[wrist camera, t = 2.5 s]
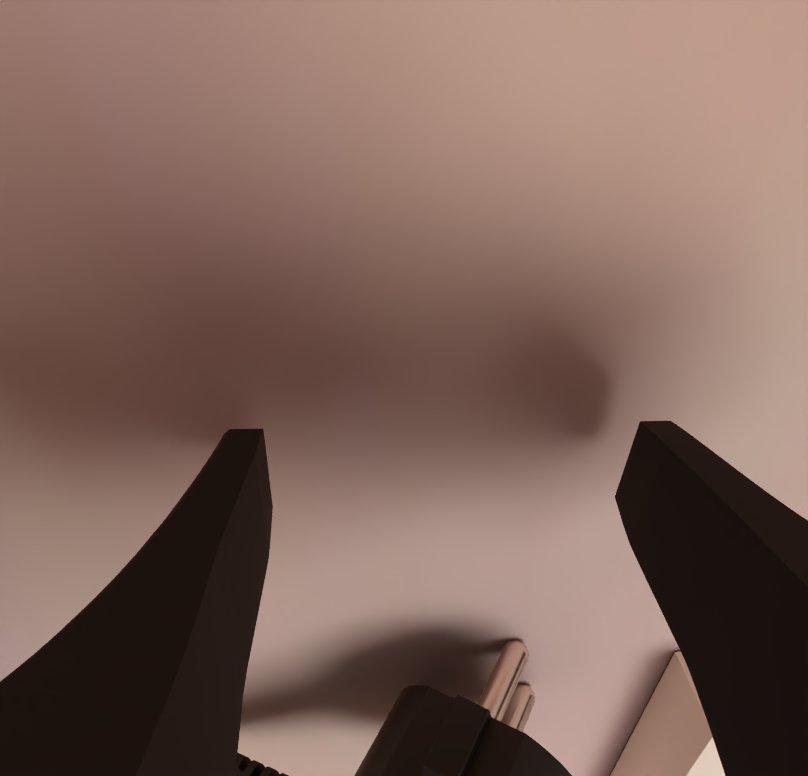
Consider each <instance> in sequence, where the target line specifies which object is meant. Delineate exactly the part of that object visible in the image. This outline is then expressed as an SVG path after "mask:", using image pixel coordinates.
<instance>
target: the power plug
mask: <svg viewBox="0 0 808 776" xmlns="http://www.w3.org/2000/svg"><path fill="white" fill-rule="evenodd" d="M528 657H529V653H528V649H527V647H526V646H525V645H524V644H523V643H522V642H520V641H515V640H512V641H510V642H507V643H506V644H505V646H504V647H503V649H502V652H501V654H500V656H499V658H498V660H497V662H496V664H495V666H494V669H493V671H492V673H491V675H490V677H489V679H488V681H487V683H486V686H485V688H484V690H483V692H482V694H481V696H480V698H479V700H478V703H477V704H476V703H474V702H472V701H470V700H467V699H465V698H463V697H461V696H459V695H457V697H456V699H453V698H451V697H449V696H447V695H445V694H443V693H441V692H439V691H437V690H435V689H433V688H431V687H428V686H417V685H416V686H409V687H406V688H405V689H403V690H402V692H401V694H400V696H399V697H398V699H397V701H396V703H395V704H394V706H393V708H392V710H391V712H390V713H389V715H388V717H387V719H386V721H385V722H384V724H383V726H382V728H381V729H380V731H379V733H378V735H377V737H376V738H375V740H374V742H373V744H372V745H371V747H370V749H369V751H368V753H367V754H366V756H365V758H364V760H363V761H362V763H361V765H360V767H359V769H358V770H357V772H356V774H355V776H572V775H571V774H570V773H569V772H568V771H567V770H566V768H565V767H564V766H563V765H562V764H561V763H560V762H559V761H558V760H557V759H556V758H555V757H553V756H552V755H551V754H550V753H549V752H548V751H547V750H546V749H544V748H543V747H542V746H541V745H540V744H538V743H537V742H536V741H535V740H533V739H532V738H531V737H529V736H528V735H527V734H525V733H523V730H524V727H525V725H526V722H527V720H528V717H529V715H530V713H531V710H532V708H533V705H534V702H535V694H534V692H533V690H532V689H531V688H530V687H529V686H527V685H525V684H519V685H517V684H518V682H519V679H520V677H521V675H522V673H523V670H524V668H525V666H526V663H527V661H528ZM235 776H288V775H286V774H284V773H282V774H279V773H278V771H277V770H275V769H273V768H270V767H266V768H265V767H264V765H263V764H261V763H259V762H257V761H255V760H253V761H251V760H250V759H249V758H248V757H246V756H244V755H242V754H239V753H237V762H236V773H235Z"/></svg>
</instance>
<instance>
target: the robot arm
mask: <svg viewBox="0 0 808 776" xmlns="http://www.w3.org/2000/svg"><path fill="white" fill-rule="evenodd" d="M615 498H616V502H617V505H618V509H619V512H620V515H621V519H622V522H623V525H624V528H625V531H626V534H627V537H628V540H629V543H630V545H631V547H632V550H633V552H634V554H635V556H636V558H637V560H638V563H639V565H640V567H641V569H642V571H643V573H644V575H645V578H646V580H647V582H648V584H649V586H650V588H651V590H652V592H653V594H654V596H655V598H656V600H657V603H658V605H659V607H660V609H661V611H662V613H663V615H664V617H665V619H666V621H667V623H668V625H669V627H670V630H671V632H672V634H673V636H674V638H675V640H676V642H677V644H678V646H679V648H680V651H681V653H682V655H683V658H684V660H685V662H686V665H687V667H688V669H689V672H690V675H691V677H692V680H693V683H694V686H695V688H696V691H697V694H698V697H699V699H700V702H701V705H702V708H703V711H704V713H705V716H706V719H707V722H708V725H709V728H710V731H711V734H712V737H713V740H714V743H715V746H716V749H717V752H718V755H719V758H720V761H721V764H722V767H723V770H724V773H725V776H808V521H807V520H806V519H804V518H803V517H801V516H800V515H798V514H797V513H796V512H794V511H793V510H791V509H790V508H788V507H787V506H785V505H784V504H783V503H781V502H780V501H778V500H777V499H776V498H774V497H773V496H771V495H770V494H769V493H767V492H766V491H765V490H763V489H762V488H760V487H759V486H758V485H756V484H755V483H754V482H752V481H751V480H750V479H748V478H747V477H746V476H744V475H743V474H742V473H740V472H739V471H738V470H736V469H735V468H734V467H732V466H731V465H730V464H728V463H727V462H726V461H724V460H723V459H722V458H720V457H719V456H718V455H717V454H715V453H714V452H713V451H711V450H710V449H709V448H707V447H706V446H705V445H703V444H702V443H701V442H699V441H698V440H697V439H695V438H694V437H693V436H691V435H690V434H689V433H687V432H686V431H684V430H683V429H682V428H680V427H679V426H677V425H676V424H674V423H673V422H671V421H640V423H639V426H638V429H637V432H636V435H635V438H634V441H633V444H632V447H631V450H630V453H629V456H628V459H627V462H626V465H625V468H624V471H623V474H622V477H621V480H620V483H619V486H618V489H617V492H616V495H615ZM272 508H273V506H272V498H271V490H270V481H269V473H268V465H267V456H266V448H265V440H264V432H263V429H229V430H228V431H227V432H226V433H225V434H224V435H223V437H222V439H221V440H220V442H219V443H218V445H217V447H216V448H215V450H214V451H213V453H212V455H211V456H210V458H209V459H208V461H207V462H206V464H205V465H204V467H203V468H202V470H201V471H200V473H199V474H198V475H197V477H196V478H195V480H194V481H193V483H192V484H191V485H190V487H189V488H188V490H187V491H186V492H185V494H184V495H183V496H182V498H181V499H180V500H179V502H178V503H177V504H176V506H175V507H174V508H173V510H172V511H171V512H170V514H169V515H168V516H167V518H166V519H165V520H164V521H163V523H162V524H161V525H160V526H159V527H158V529H157V530H156V531H155V532H154V533H153V535H152V536H151V537H150V538H149V539H148V541H147V542H146V543H145V544H144V545H143V547H142V548H141V549H140V550H139V551H138V553H137V554H136V555H135V556H134V557H133V558H132V559H131V560H130V562H129V563H128V564H127V565H126V566H125V567H124V568H123V569H122V570H121V571H120V573H119V574H118V575H117V576H116V577H115V578H114V579H113V580H112V581H111V582H110V583H109V584H108V585H107V586H106V587H105V588H104V589H103V590H102V591H101V592H100V593H99V594H98V595H97V596H96V597H95V598H94V599H93V600H92V601H91V602H90V603H89V604H88V605H87V606H86V607H85V608H84V609H83V610H82V611H81V612H80V613H79V614H78V615H77V616H76V617H75V618H73V619H72V620H71V621H70V622H69V623H68V624H67V625H66V626H65V627H64V628H63V629H62V630H61V631H60V632H59V633H58V634H56V635H55V636H54V637H53V638H52V639H51V640H50V641H49V642H47V643H46V644H45V645H44V646H43V647H42V648H41V649H39V650H38V651H37V652H36V653H35V654H34V655H33V656H31V657H30V658H29V659H28V660H26V661H25V662H24V663H23V664H22V665H20V666H19V667H18V668H17V669H15V670H14V671H13V672H12V673H10V674H9V675H8V676H7V677H6V678H4V679H3V680H2V681H1V682H0V776H235V773H236V762H237V750H238V740H239V730H240V720H241V710H242V700H243V692H244V685H245V679H246V672H247V667H248V662H249V656H250V651H251V646H252V641H253V636H254V631H255V626H256V621H257V616H258V611H259V605H260V600H261V595H262V590H263V585H264V580H265V574H266V569H267V564H268V558H269V548H270V536H271V522H272Z"/></svg>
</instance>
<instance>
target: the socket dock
mask: <svg viewBox="0 0 808 776" xmlns="http://www.w3.org/2000/svg"><path fill="white" fill-rule="evenodd" d="M610 776H725V773H724V770H723V767H722V764H721V761H720V758H719V755H718V752H717V749H716V746H715V743H714V740H713V737H712V734H711V731H710V728H709V725H708V722H707V719H706V716H705V713H704V711H703V708H702V705H701V702H700V699H699V697H698V694H697V691H696V688H695V686H694V683H693V680H692V677H691V675H690V672H689V669H688V667H687V665H686V662H685V660H684V658H683V655H682V653H681V651H680V652H675V653H674V655H673V657H672V659H671V661H670V662H669V664H668V666H667V668H666V670H665V672H664V674H663V676H662V678H661V680H660V682H659V684H658V685H657V687H656V689H655V691H654V693H653V695H652V697H651V699H650V701H649V703H648V705H647V706H646V708H645V710H644V712H643V714H642V716H641V718H640V720H639V722H638V724H637V726H636V728H635V729H634V731H633V733H632V735H631V737H630V739H629V741H628V743H627V745H626V747H625V749H624V751H623V752H622V754H621V756H620V758H619V760H618V762H617V764H616V766H615V768H614V770H613V772H612V774H611V775H610Z"/></svg>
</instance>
